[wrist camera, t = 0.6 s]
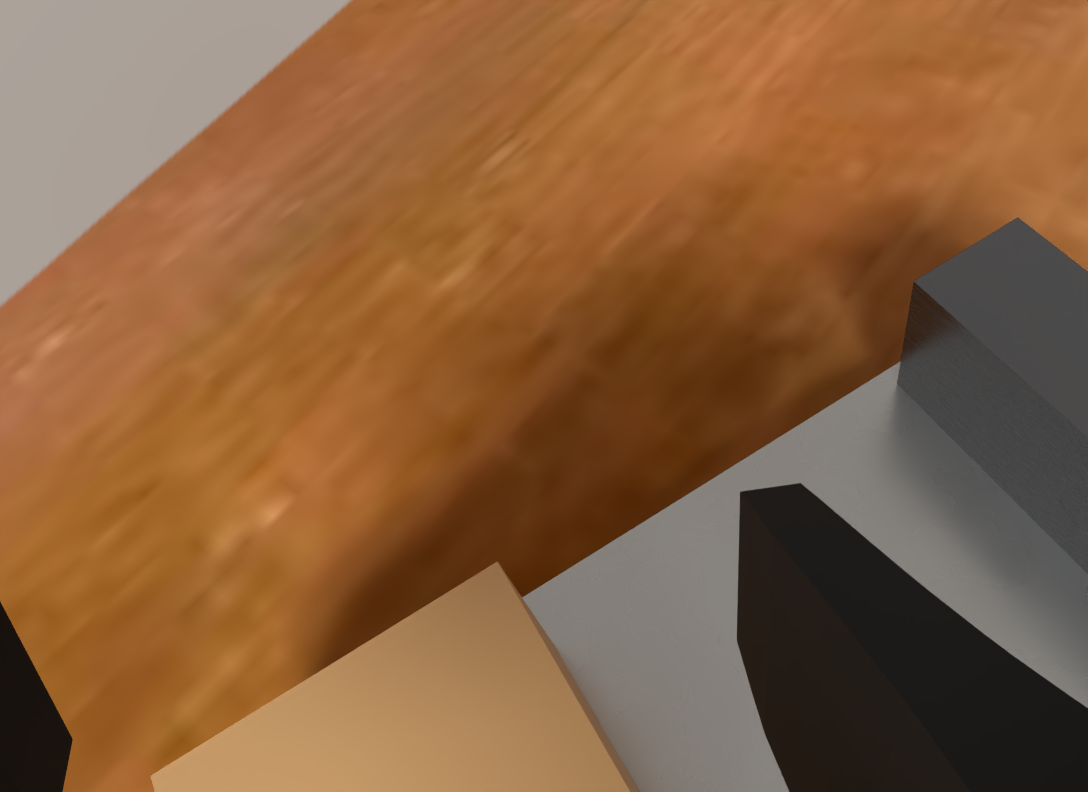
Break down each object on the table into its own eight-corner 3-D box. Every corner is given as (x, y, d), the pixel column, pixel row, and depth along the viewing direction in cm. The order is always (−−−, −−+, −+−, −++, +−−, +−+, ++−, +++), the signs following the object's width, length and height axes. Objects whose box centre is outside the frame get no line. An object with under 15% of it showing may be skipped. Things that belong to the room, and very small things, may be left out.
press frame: (1313, 665, 22) (1466, 566, 17) (479, 1248, 20) (372, 1332, 15) (965, 346, 28) (1001, 205, 23) (298, 765, 26) (179, 709, 21)
